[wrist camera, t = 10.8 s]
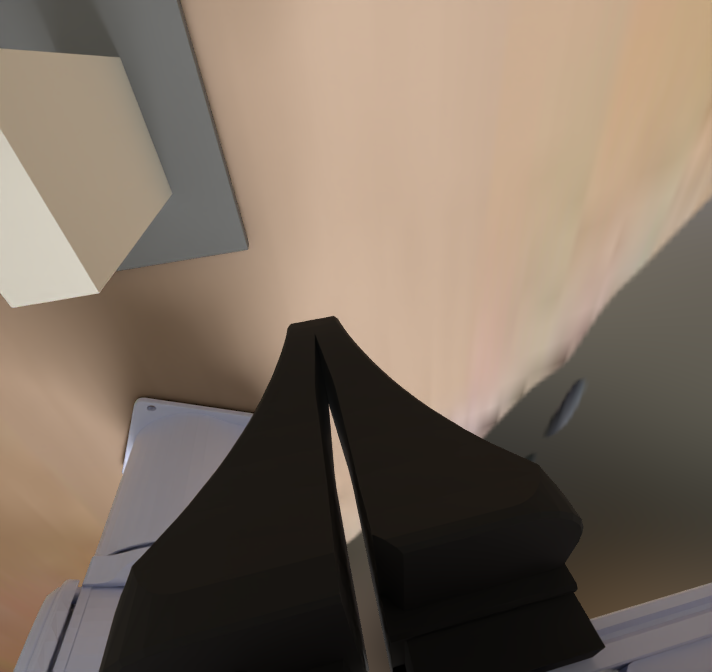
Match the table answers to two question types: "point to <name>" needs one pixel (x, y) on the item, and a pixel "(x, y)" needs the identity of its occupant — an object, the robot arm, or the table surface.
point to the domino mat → (149, 111)
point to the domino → (70, 174)
